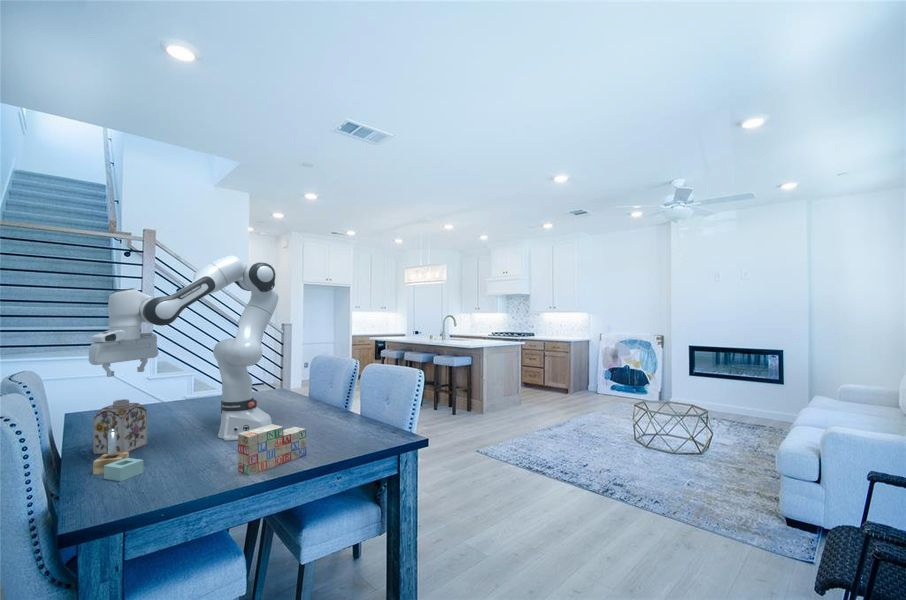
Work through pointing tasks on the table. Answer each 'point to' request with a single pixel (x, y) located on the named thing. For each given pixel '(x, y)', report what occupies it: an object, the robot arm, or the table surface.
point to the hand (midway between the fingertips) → (126, 374)
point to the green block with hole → (123, 469)
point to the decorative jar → (120, 426)
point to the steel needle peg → (112, 443)
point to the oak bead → (107, 461)
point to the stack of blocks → (269, 447)
